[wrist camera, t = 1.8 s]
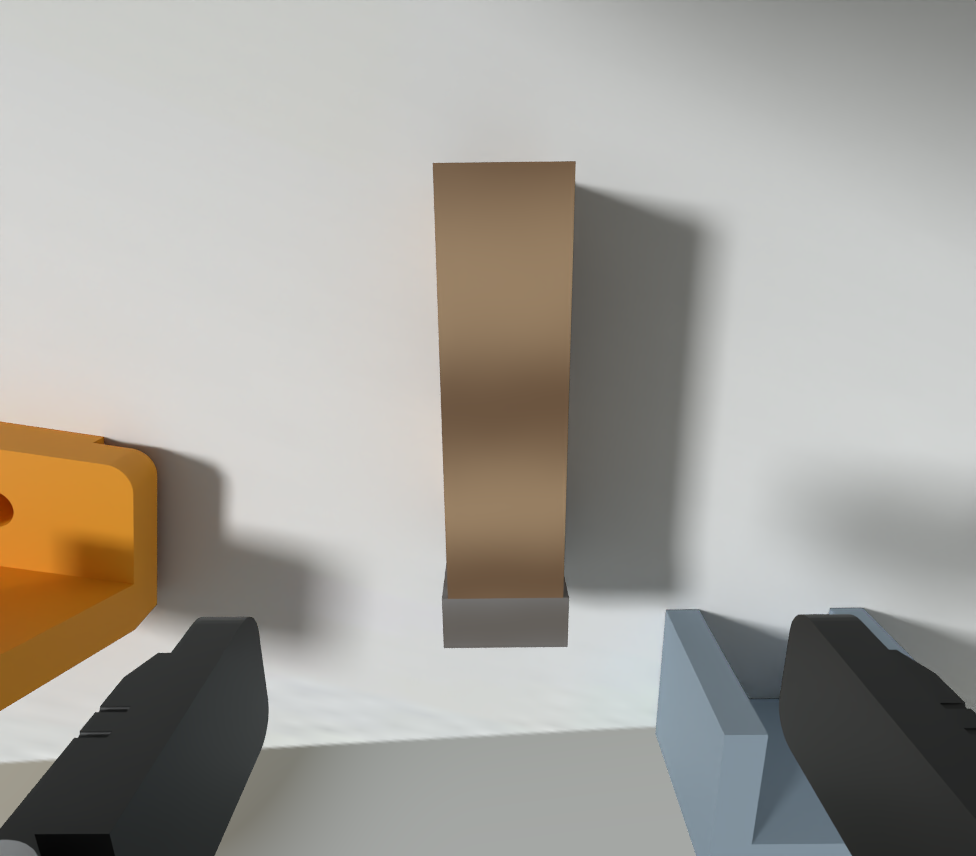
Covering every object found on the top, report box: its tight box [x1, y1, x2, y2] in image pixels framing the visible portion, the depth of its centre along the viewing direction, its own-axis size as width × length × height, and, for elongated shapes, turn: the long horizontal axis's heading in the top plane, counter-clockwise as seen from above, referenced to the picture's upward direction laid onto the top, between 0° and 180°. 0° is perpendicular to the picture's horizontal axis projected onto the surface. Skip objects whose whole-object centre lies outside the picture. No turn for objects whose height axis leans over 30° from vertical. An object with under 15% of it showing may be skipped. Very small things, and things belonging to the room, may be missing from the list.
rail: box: [433, 161, 576, 648], centre depth 23 cm, size 16×4×6 cm, turn 1°
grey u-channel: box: [656, 608, 915, 856], centre depth 26 cm, size 7×9×8 cm
